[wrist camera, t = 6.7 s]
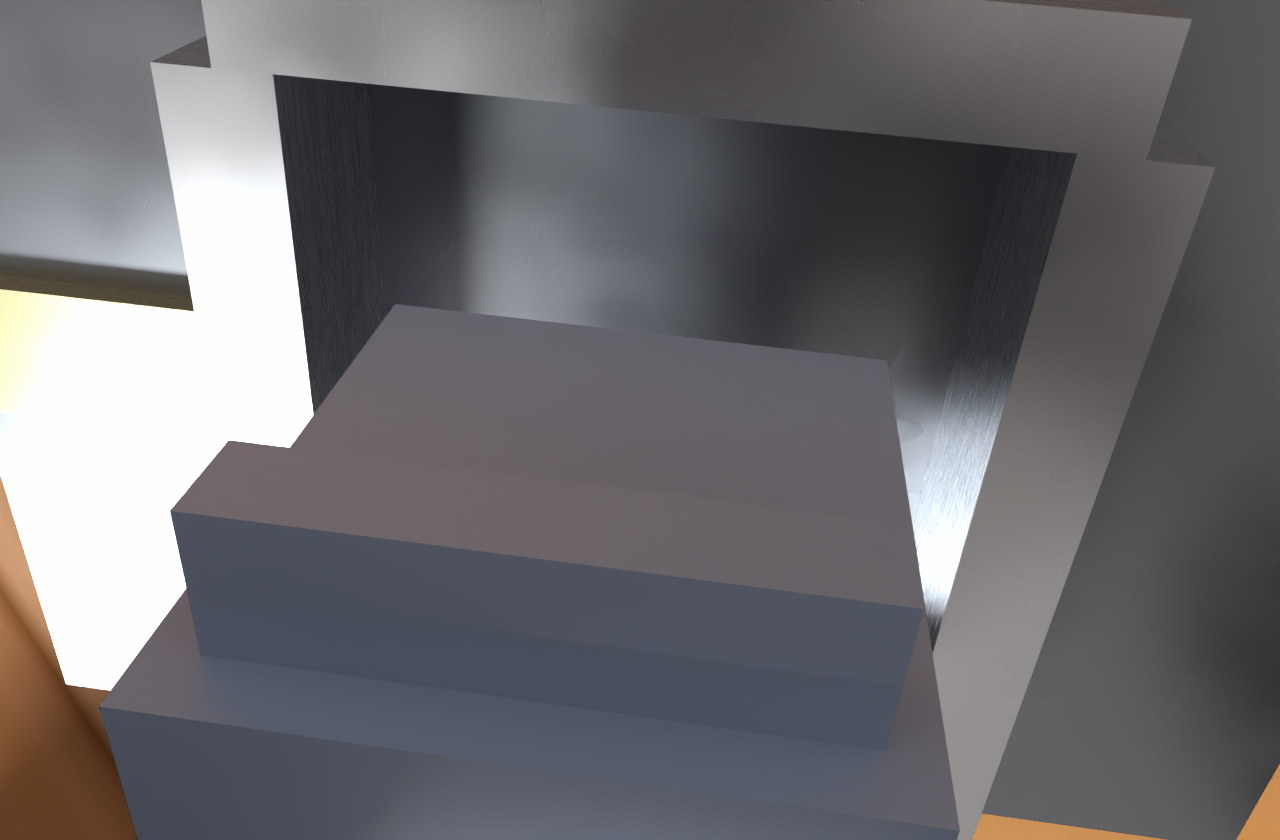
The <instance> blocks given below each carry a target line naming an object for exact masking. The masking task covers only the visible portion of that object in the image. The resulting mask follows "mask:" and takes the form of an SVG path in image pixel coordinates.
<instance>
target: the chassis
mask: <svg viewBox="0 0 1280 840" xmlns="http://www.w3.org/2000/svg"><path fill="white" fill-rule="evenodd" d="M395 304H399V305H408V306H416V307H425V308H434V309H443V310H451V311H460V312H469V313H478V314H486V315H495V316H504V317H513V318H521V319H530V320H539V321H548V322H556V323H565V324H574V325H583V326H591V327H600V328H609V329H618V330H626V331H635V332H644V333H653V334H661V335H670V336H679V337H688V338H696V339H705V340H714V341H723V342H731V343H740V344H749V345H758V346H766V347H775V348H784V349H793V350H801V351H810V352H819V353H828V354H836V355H845V356H854V357H862V358H871V359H880V360H887V363H888V370H889V376H890V383H891V389H892V396H893V402H894V408H895V415H896V421H897V428H898V434H899V441H900V447H901V454H902V460H903V466H904V473H905V479H906V486H907V492H908V499H909V505H910V512H911V518H912V525H913V531H914V537H915V544H916V550H917V557H918V563H919V570H920V576H921V583H922V589H923V596H924V602H925V608H926V615H927V621H928V628H929V634H930V641H931V647H932V654H933V660H934V666H935V673H936V679H937V686H938V692H939V699H940V705H941V712H942V718H943V725H944V731H945V737H946V744H947V750H948V757H949V763H950V770H951V776H952V783H953V789H954V796H955V802H956V808H957V815H958V821H959V828H960V832H959V835H958V838H957V840H972V839H973V836H974V833H975V830H976V828H977V825H978V822H979V819H980V816H981V814H982V813H983V814H990V815H997V816H1004V817H1011V818H1018V819H1026V820H1033V821H1040V822H1047V823H1054V824H1061V825H1068V826H1075V827H1082V828H1089V829H1097V830H1104V831H1111V832H1118V833H1125V834H1132V835H1139V836H1146V837H1153V838H1160V839H1168V840H1236V839H1237V837H1238V835H1239V834H1240V832H1241V830H1242V828H1243V827H1244V825H1245V823H1246V821H1247V820H1248V818H1249V816H1250V814H1251V813H1252V811H1253V809H1254V807H1255V806H1256V804H1257V802H1258V800H1259V799H1260V797H1261V795H1262V793H1263V792H1264V790H1265V788H1266V786H1267V785H1268V783H1269V781H1270V779H1271V778H1272V776H1273V774H1274V772H1275V771H1276V769H1277V767H1278V765H1279V764H1280V0H0V475H1V479H2V482H3V485H4V488H5V491H6V495H7V498H8V501H9V504H10V507H11V510H12V514H13V517H14V520H15V523H16V526H17V530H18V533H19V536H20V539H21V542H22V545H23V549H24V552H25V555H26V558H27V561H28V565H29V568H30V571H31V574H32V577H33V581H34V584H35V587H36V590H37V593H38V596H39V600H40V603H41V606H42V609H43V612H44V616H45V619H46V622H47V625H48V628H49V631H50V635H51V638H52V641H53V644H54V647H55V651H56V654H57V657H58V660H59V663H60V667H61V670H62V673H63V676H64V679H65V682H66V684H67V685H74V686H81V687H88V688H96V689H103V690H110V691H111V689H112V688H113V686H114V685H115V684H116V682H117V681H118V680H119V678H120V677H121V676H122V674H123V673H124V672H125V670H126V669H127V667H128V666H129V665H130V663H131V662H132V661H133V659H134V658H135V657H136V655H137V654H138V653H139V651H140V650H141V648H142V647H143V646H144V644H145V643H146V642H147V640H148V639H149V638H150V636H151V635H152V634H153V632H154V631H155V629H156V628H157V627H158V625H159V624H160V623H161V621H162V620H163V619H164V617H165V616H166V615H167V613H168V612H169V610H170V609H171V608H172V606H173V605H174V604H175V602H176V601H177V600H178V598H179V597H180V596H181V594H182V593H183V591H184V590H185V589H186V585H185V581H184V576H183V571H182V567H181V562H180V557H179V553H178V548H177V543H176V538H175V534H174V529H173V524H172V520H171V515H170V510H171V508H172V507H173V506H174V505H175V504H176V502H177V501H178V500H179V499H180V498H181V496H182V495H183V494H184V493H185V492H186V490H187V489H188V488H189V487H190V486H191V484H192V483H193V482H194V481H195V480H196V478H197V477H198V476H199V475H200V474H201V472H202V471H203V470H204V469H205V468H206V466H207V465H208V464H209V463H210V462H211V460H212V459H213V458H214V457H215V456H216V454H217V453H218V452H219V451H220V450H221V448H222V447H223V446H224V445H225V444H226V442H227V441H228V440H234V441H242V442H250V443H258V444H266V445H274V446H282V447H290V446H291V445H292V443H293V442H294V441H295V439H296V438H297V437H298V435H299V434H300V433H301V431H302V430H303V428H304V427H305V426H306V424H307V423H308V422H309V420H310V419H311V418H312V416H313V415H314V414H315V412H316V411H317V409H318V408H319V407H320V405H321V404H322V403H323V401H324V400H325V399H326V397H327V396H328V395H329V393H330V392H331V390H332V389H333V388H334V386H335V385H336V384H337V382H338V381H339V380H340V378H341V377H342V376H343V374H344V373H345V371H346V370H347V369H348V367H349V366H350V365H351V363H352V362H353V361H354V359H355V358H356V357H357V355H358V354H359V352H360V351H361V350H362V348H363V347H364V346H365V344H366V343H367V342H368V340H369V339H370V338H371V336H372V335H373V333H374V332H375V331H376V329H377V328H378V327H379V325H380V324H381V323H382V321H383V320H384V319H385V317H386V316H387V314H388V313H389V312H390V310H391V309H392V308H393V306H394V305H395Z"/></svg>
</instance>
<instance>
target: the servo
mask: <svg viewBox="0 0 1280 840" xmlns="http://www.w3.org/2000/svg"><path fill="white" fill-rule="evenodd" d="M170 515H171V520H172V524H173V529H174V534H175V538H176V543H177V548H178V553H179V557H180V562H181V567H182V571H183V576H184V581H185V585H186V589H185V590H184V591H183V593H182V594H181V596H180V597H179V598H178V600H177V601H176V602H175V604H174V605H173V606H172V608H171V609H170V610H169V612H168V613H167V615H166V616H165V617H164V619H163V620H162V621H161V623H160V624H159V625H158V627H157V628H156V629H155V631H154V632H153V634H152V635H151V636H150V638H149V639H148V640H147V642H146V643H145V644H144V646H143V647H142V648H141V650H140V651H139V653H138V654H137V655H136V657H135V658H134V659H133V661H132V662H131V663H130V665H129V666H128V667H127V669H126V670H125V672H124V673H123V674H122V676H121V677H120V678H119V680H118V681H117V682H116V684H115V685H114V686H113V688H112V689H111V691H110V692H109V693H108V695H107V696H106V697H105V699H104V700H103V701H102V703H101V704H100V705H99V709H100V712H101V716H102V719H103V722H104V726H105V729H106V733H107V736H108V740H109V743H110V746H111V750H112V753H113V757H114V760H115V763H116V767H117V770H118V774H119V777H120V780H121V784H122V787H123V791H124V794H125V798H126V801H127V804H128V808H129V811H130V815H131V818H132V821H133V825H134V828H135V832H136V835H137V838H138V840H957V838H958V835H959V832H960V828H959V821H958V815H957V808H956V802H955V796H954V789H953V783H952V776H951V770H950V763H949V757H948V750H947V744H946V737H945V731H944V725H943V718H942V712H941V705H940V699H939V692H938V686H937V679H936V673H935V666H934V660H933V654H932V647H931V641H930V634H929V628H928V621H927V615H926V608H925V602H924V596H923V589H922V583H921V576H920V570H919V563H918V557H917V550H916V544H915V537H914V531H913V525H912V518H911V512H910V505H909V499H908V492H907V486H906V479H905V473H904V466H903V460H902V454H901V447H900V441H899V434H898V428H897V421H896V415H895V408H894V402H893V396H892V389H891V383H890V376H889V370H888V363H887V360H880V359H871V358H862V357H854V356H845V355H836V354H828V353H819V352H810V351H801V350H793V349H784V348H775V347H766V346H758V345H749V344H740V343H731V342H723V341H714V340H705V339H696V338H688V337H679V336H670V335H661V334H653V333H644V332H635V331H626V330H618V329H609V328H600V327H591V326H583V325H574V324H565V323H556V322H548V321H539V320H530V319H521V318H513V317H504V316H495V315H486V314H478V313H469V312H460V311H451V310H443V309H434V308H425V307H416V306H408V305H399V304H395V305H394V306H393V308H392V309H391V310H390V312H389V313H388V314H387V316H386V317H385V319H384V320H383V321H382V323H381V324H380V325H379V327H378V328H377V329H376V331H375V332H374V333H373V335H372V336H371V338H370V339H369V340H368V342H367V343H366V344H365V346H364V347H363V348H362V350H361V351H360V352H359V354H358V355H357V357H356V358H355V359H354V361H353V362H352V363H351V365H350V366H349V367H348V369H347V370H346V371H345V373H344V374H343V376H342V377H341V378H340V380H339V381H338V382H337V384H336V385H335V386H334V388H333V389H332V390H331V392H330V393H329V395H328V396H327V397H326V399H325V400H324V401H323V403H322V404H321V405H320V407H319V408H318V409H317V411H316V412H315V414H314V415H313V416H312V418H311V419H310V420H309V422H308V423H307V424H306V426H305V427H304V428H303V430H302V431H301V433H300V434H299V435H298V437H297V438H296V439H295V441H294V442H293V443H292V445H291V446H290V447H282V446H274V445H266V444H258V443H250V442H242V441H234V440H228V441H227V442H226V444H225V445H224V446H223V447H222V448H221V450H220V451H219V452H218V453H217V454H216V456H215V457H214V458H213V459H212V460H211V462H210V463H209V464H208V465H207V466H206V468H205V469H204V470H203V471H202V472H201V474H200V475H199V476H198V477H197V478H196V480H195V481H194V482H193V483H192V484H191V486H190V487H189V488H188V489H187V490H186V492H185V493H184V494H183V495H182V496H181V498H180V499H179V500H178V501H177V502H176V504H175V505H174V506H173V507H172V508H171V510H170Z"/></svg>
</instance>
